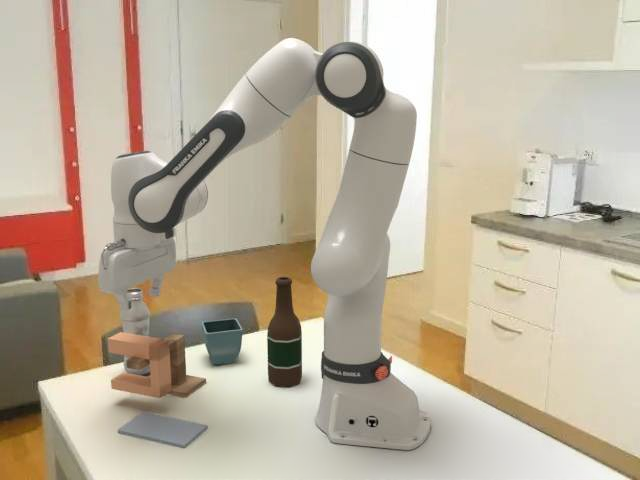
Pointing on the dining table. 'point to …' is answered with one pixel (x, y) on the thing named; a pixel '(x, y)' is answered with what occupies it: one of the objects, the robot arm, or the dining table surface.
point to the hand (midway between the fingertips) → (140, 302)
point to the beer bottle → (284, 339)
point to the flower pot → (222, 340)
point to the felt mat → (163, 429)
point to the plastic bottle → (136, 323)
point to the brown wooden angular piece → (174, 368)
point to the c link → (144, 349)
